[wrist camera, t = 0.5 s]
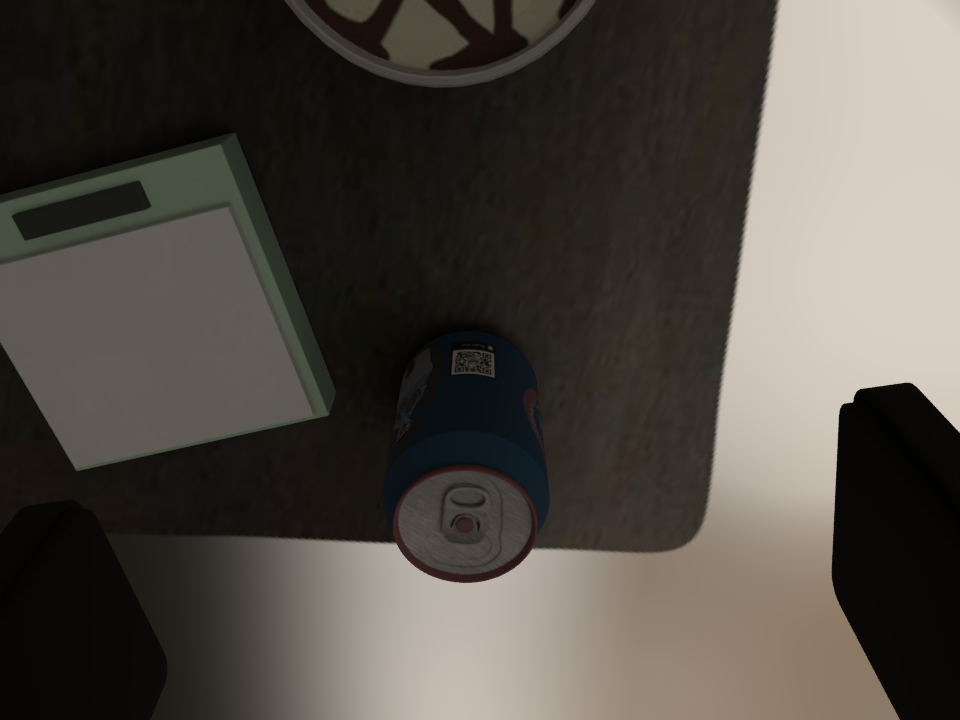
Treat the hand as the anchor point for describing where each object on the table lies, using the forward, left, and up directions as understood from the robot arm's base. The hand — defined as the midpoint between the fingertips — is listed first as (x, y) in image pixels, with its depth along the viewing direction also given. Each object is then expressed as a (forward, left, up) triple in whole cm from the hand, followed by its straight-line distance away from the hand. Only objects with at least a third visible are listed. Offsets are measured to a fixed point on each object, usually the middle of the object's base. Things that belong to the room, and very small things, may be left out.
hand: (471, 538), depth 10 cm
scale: (+5, -18, -29) cm, 35 cm away
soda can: (+13, -4, -29) cm, 33 cm away
